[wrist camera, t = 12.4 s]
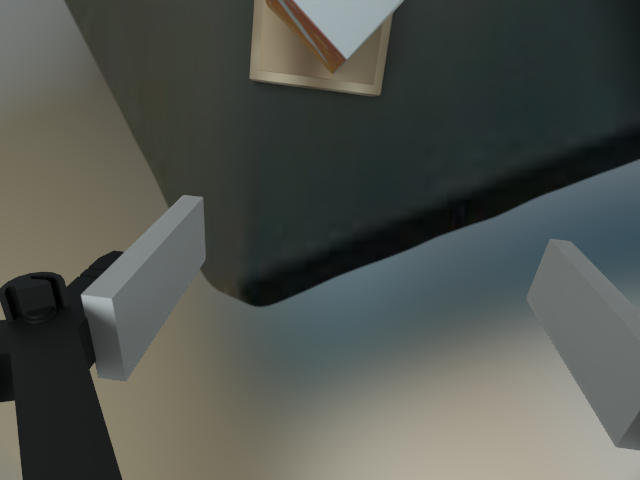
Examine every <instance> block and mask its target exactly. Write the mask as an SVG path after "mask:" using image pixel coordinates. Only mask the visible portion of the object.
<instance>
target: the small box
mask: <svg viewBox="0 0 640 480" xmlns="http://www.w3.org/2000/svg"><path fill="white" fill-rule="evenodd" d="M265 1H266V4H267V6H268V7H269V8H270V9H271V10H272V11H273V12H274V13H275V14H276V15H277V16H278V17H279V18H280V19H281V20H282V21H283V22H284V23H285V24H286V25H287V26H288V27H289V28H290V29H291V31H292V32H293V33H294V34H295V35H296V36H297V37H298V38H299V39H300V40H301V41H302V42H303V43H304V44H305V45H306V46H307V48H308V49H309V50H310V51H311V52H312V53H313V54H314V55H315V56H316V57H317V58H318V59H319V61H320V62H321V63H322V64H323V65H324V66H325V67H326V68H327V69H328V70H329V72H330V73H331V74H334V73H335V72H336V71H337V70H338V69H339V68H340V67H341V66H342V65H343V64H344V63H345V62H346V61H347V60H348V59H349V58H350V57H351V56H352V55H353V54H354V53H355V52H356V51H357V50H358V49H359V48H360V47H361V46H362V45H363V44H364V43H365V42H366V41H367V40H368V39H369V38H370V36H371V35H372V34H373V33H374V32H375V31H376V30H377V29H378V28H379V27H380V26H381V25H382V24H383V23H384V22H385V21H386V20H387V18H388V17H389V16H390V15H391V14H392V13H393V12H394V11H395V10H396V9H397V8H398V7H399V6H400V5H401V3H402V2H403V1H404V0H265Z"/></svg>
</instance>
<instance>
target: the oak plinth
mask: <svg viewBox="0 0 640 480" xmlns="http://www.w3.org/2000/svg"><path fill="white" fill-rule="evenodd" d="M392 15H393V13H392V14H391V15H390V16H389V17H388V18H387V20H386V21H385V22H384V23H383V24H382V25H381V26H380V27H379V28H378V29H377V30H376V31H375V32H374V33H373V34H372V35H371V36H370V38H369V39H368V40H367V41H366V42H365V43H364V44H363V45H362V46H361V47H360V48H359V49H358V50H357V51H356V52H355V53H354V54H353V55H352V56H351V57H350V58H349V59H348V60H347V61H346V62H345V63H344V64H343V65H342V66H341V67H340V68H339V69H338V70H337V71H336V72H335V73H334V74H331V73H330V72H329V70H328V69H327V68H326V67H325V66H324V65H323V64H322V63H321V62H320V61H319V59H318V58H317V57H316V56H315V55H314V54H313V53H312V52H311V51H310V50H309V49H308V48H307V46H306V45H305V44H304V43H303V42H302V41H301V40H300V39H299V38H298V37H297V36H296V35H295V34H294V33H293V32H292V31H291V29H290V28H289V27H288V26H287V25H286V24H285V23H284V22H283V21H282V20H281V19H280V18H279V17H278V16H277V15H276V14H275V13H274V12H273V11H272V10H271V9H270V8H269V7H268V6H267V4H266V1H265V0H255V1H254V17H253V32H252V48H251V64H250V79H251V80H253V81H255V82H263V83H271V84H279V85H286V86H294V87H302V88H310V89H318V90H326V91H334V92H341V93H349V94H357V95H365V96H373V97H374V96H379V95H380V94H381V87H382V81H383V74H384V68H385V61H386V55H387V48H388V41H389V35H390V28H391V22H392Z"/></svg>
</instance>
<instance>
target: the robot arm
mask: <svg viewBox="0 0 640 480" xmlns="http://www.w3.org/2000/svg"><path fill="white" fill-rule="evenodd" d="M205 259H206V256H205V231H204V206H203V197H197V196H188V195H183V196H182V197H181V198H180V199H179V200H178V201H177V202H176V203H175V204H174V205H173V206H172V207H170V208H169V209H168V210H167V212H165V213H164V214H163V215H162V216H161V217H160V218H159V219H158V220H157V221H156V222H155V223H154V224H153V225H152V226H151V227H150V228H149V229H148V230H147V231H146V232H145V233H144V234H143V235H142V236H141V237H140V238H139V239H138V240H137V241H135V242H134V243H133V244H132V245H131V246H130V247H129V248H128V249H127V250H126V251H125V252H120V251H112V252H110V253H108V254H106V255H104V256H102V257H100V258H98V259H97V260H96V261H95V262H94V263H93V264H92V265H90V266H89V268H88V269H86V270H85V271H84V272H83V273H81V275H80V277H77V278H76V279H75V280H74V281H73V282H71V284H69V285H68V286H67V287H66V285H65V281H64V279H63V278H62V276H61V275H58V274H56V273H53V272H37V273H29V274H26V275H23V276H19V277H17V278H14V279H13V280H11V281H8V282H7V283H6V284H4V285H3V286H2V287H1V288H0V302H1V305H2V308H3V311H4V314H5V317H6V320H0V402H6V401H13V400H15V406H16V416H17V426H18V436H19V446H20V457H21V467H22V476H23V480H122V477H121V474H120V471H119V467H118V464H117V460H116V457H115V454H114V450H113V447H112V444H111V440H110V437H109V434H108V430H107V427H106V424H105V421H104V417H103V414H102V410H101V407H100V404H99V400H98V397H97V394H96V391H95V387H94V384H93V380H92V377H91V373H90V370H89V369H90V368H91V366H92V365H93V364H94V363H96V369H97V373H98V377H99V378H105V379H112V380H120V381H126V380H127V379H128V377H129V376H130V374H131V373H132V371H133V370H134V368H135V367H136V365H137V364H138V362H139V361H140V359H141V358H142V356H143V354H144V353H145V351H146V350H147V348H148V346H149V345H150V344H151V342H152V341H153V339H154V338H155V336H156V334H157V333H158V331H159V330H160V328H161V327H162V325H163V324H164V322H165V321H166V319H167V318H168V316H169V315H170V313H171V311H172V310H173V309H174V307H175V305H176V304H177V302H178V301H179V299H180V298H181V296H182V295H183V293H184V292H185V290H186V289H187V287H188V286H189V284H190V282H191V281H192V279H193V278H194V276H195V275H196V273H197V272H198V270H199V269H200V267H201V266H202V264H203V263H204V261H205ZM526 300H527V301H528V303H529V305H530V306H531V308H532V310H533V311H534V313H535V315H536V316H537V318H538V320H539V321H540V323H541V324H542V326H543V328H544V329H545V331H546V333H547V334H548V336H549V338H550V339H551V341H552V343H553V344H554V346H555V347H556V349H557V351H558V352H559V354H560V356H561V357H562V359H563V361H564V362H565V364H566V366H567V367H568V369H569V371H570V372H571V374H572V376H573V377H574V379H575V381H576V382H577V384H578V385H579V387H580V389H581V390H582V392H583V394H584V395H585V397H586V399H587V400H588V402H589V404H590V405H591V407H592V408H593V410H594V412H595V413H596V415H597V417H598V418H599V420H600V422H601V423H602V425H603V427H604V428H605V430H606V432H607V433H608V435H609V437H610V438H611V440H612V441H613V443H614V445H615V446H616V447H619V448H627V449H634V450H640V312H639V311H638V310H637V309H636V308H635V307H634V306H633V305H632V304H631V303H630V301H629V300H628V299H627V298H625V297H624V295H622V293H621V292H620V291H619V290H618V289H617V288H616V287H615V286H614V285H613V284H612V283H611V282H610V281H609V280H608V279H607V278H606V277H605V276H604V275H603V274H602V273H601V272H600V271H599V270H598V269H597V268H596V267H595V266H594V265H593V264H592V263H591V261H589V259H588V258H587V257H586V256H585V255H584V254H583V253H582V252H581V251H580V250H579V249H577V247H576V246H575V245H574V244H573V243H572V242H571V241H565V240H556V239H550V240H549V242H548V245H547V247H546V250H545V253H544V255H543V258H542V260H541V263H540V265H539V268H538V270H537V273H536V275H535V278H534V280H533V283H532V286H531V288H530V291H529V293H528V296H527V298H526Z"/></svg>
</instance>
